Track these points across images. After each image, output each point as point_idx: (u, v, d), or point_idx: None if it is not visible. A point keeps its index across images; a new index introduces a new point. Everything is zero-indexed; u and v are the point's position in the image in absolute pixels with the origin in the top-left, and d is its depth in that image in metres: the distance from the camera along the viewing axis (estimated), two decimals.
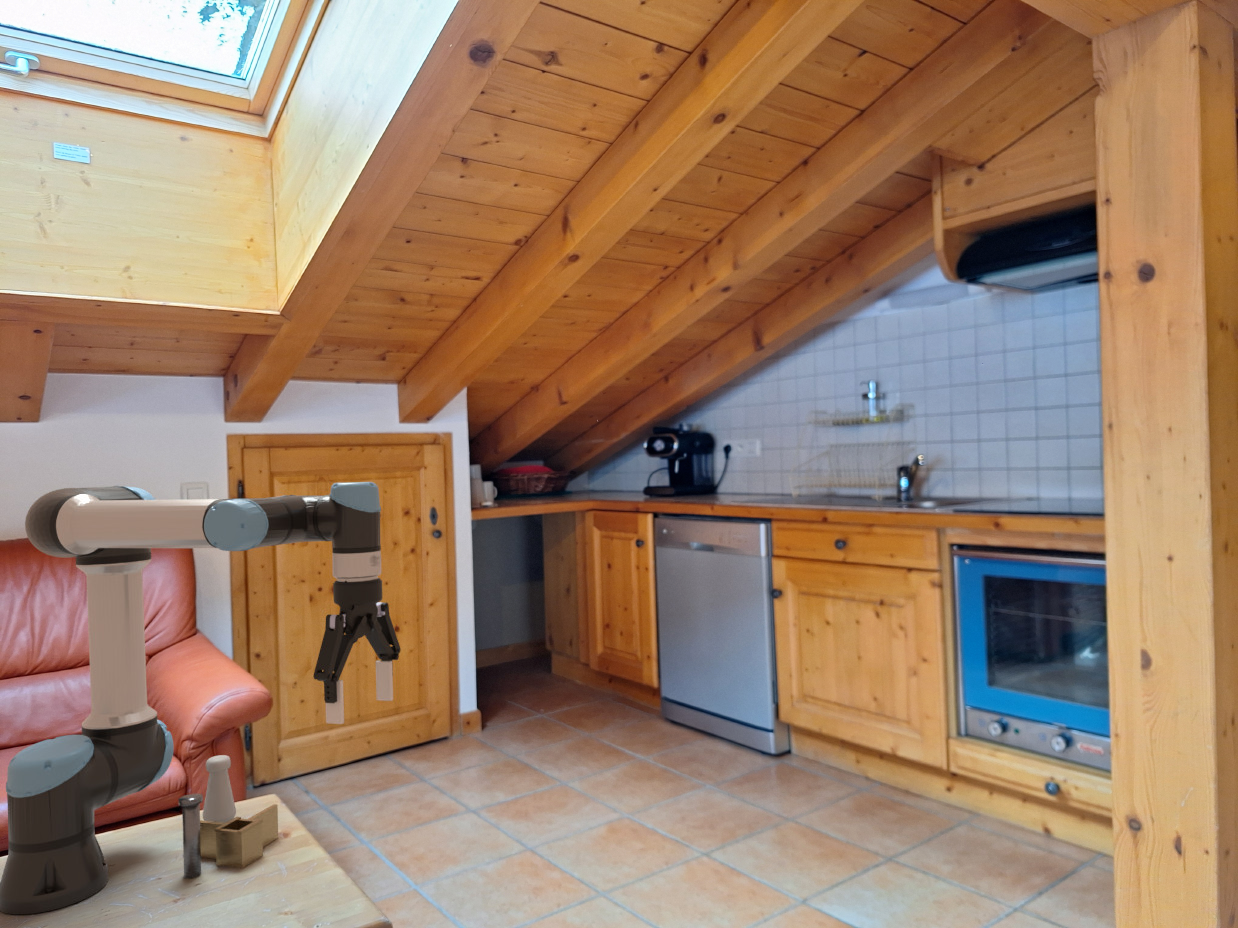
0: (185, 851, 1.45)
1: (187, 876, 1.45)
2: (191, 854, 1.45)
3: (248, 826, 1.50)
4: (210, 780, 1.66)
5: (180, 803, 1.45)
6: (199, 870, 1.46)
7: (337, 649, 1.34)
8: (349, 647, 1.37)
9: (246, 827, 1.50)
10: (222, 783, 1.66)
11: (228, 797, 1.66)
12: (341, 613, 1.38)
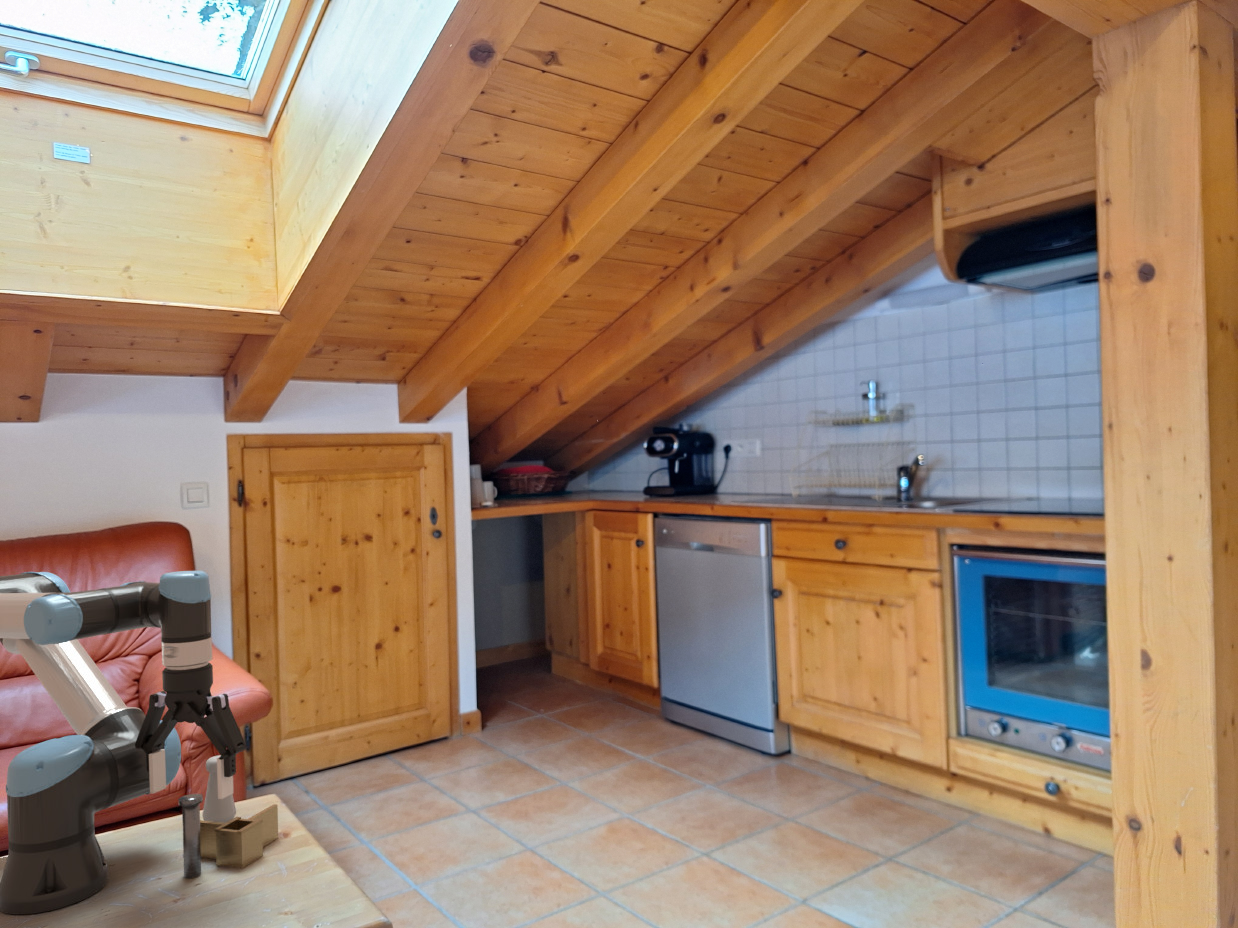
0: (185, 851, 1.45)
1: (187, 876, 1.45)
2: (191, 854, 1.45)
3: (248, 826, 1.50)
4: (210, 780, 1.66)
5: (180, 803, 1.45)
6: (199, 870, 1.46)
7: (147, 724, 1.47)
8: (162, 726, 1.46)
9: (246, 827, 1.50)
10: None
11: (228, 797, 1.66)
12: None
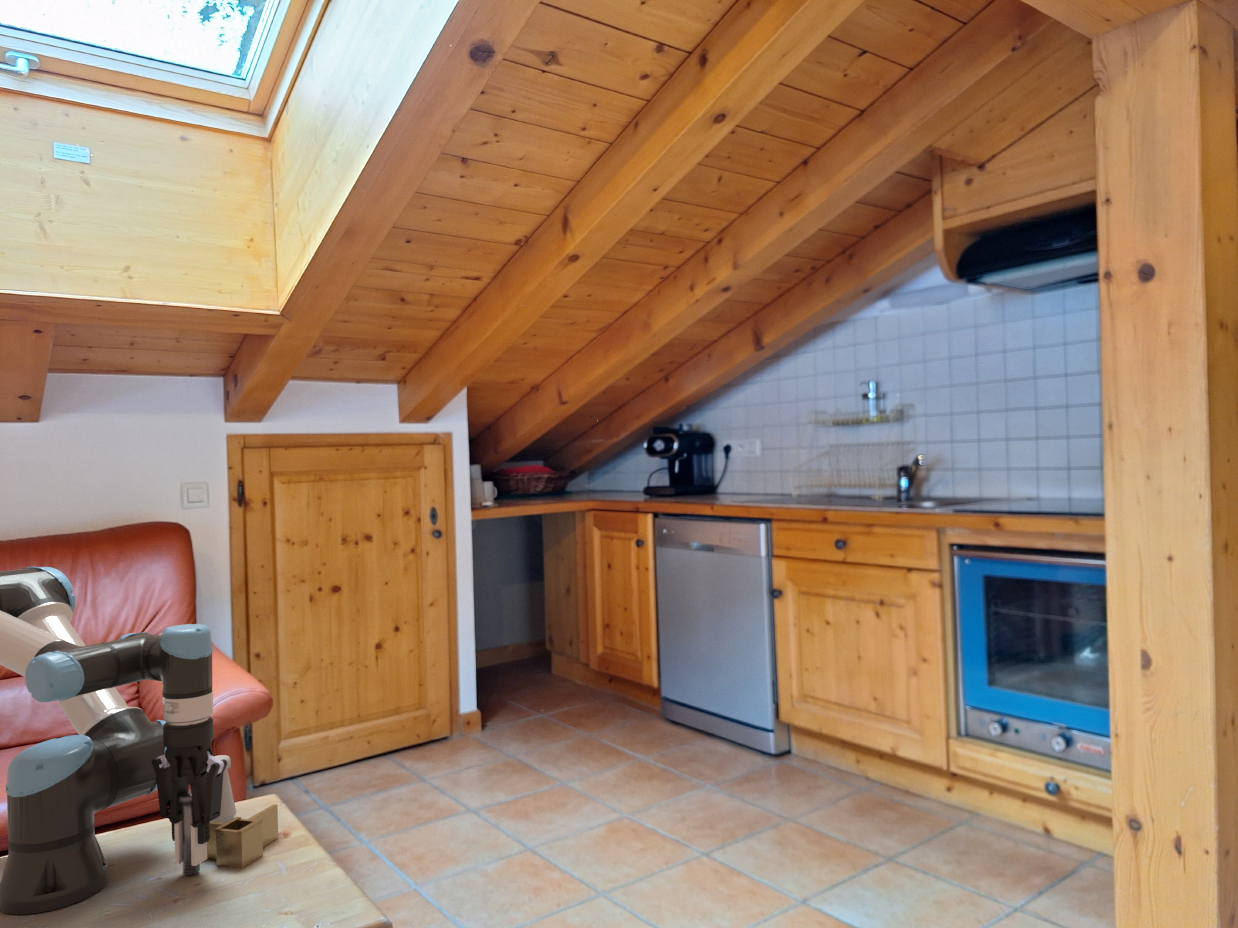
0: (184, 847, 1.45)
1: (186, 872, 1.45)
2: (190, 851, 1.45)
3: (248, 826, 1.50)
4: None
5: (179, 800, 1.45)
6: (198, 866, 1.46)
7: (161, 789, 1.47)
8: (175, 788, 1.46)
9: (246, 827, 1.50)
10: (223, 783, 1.66)
11: (228, 797, 1.66)
12: None
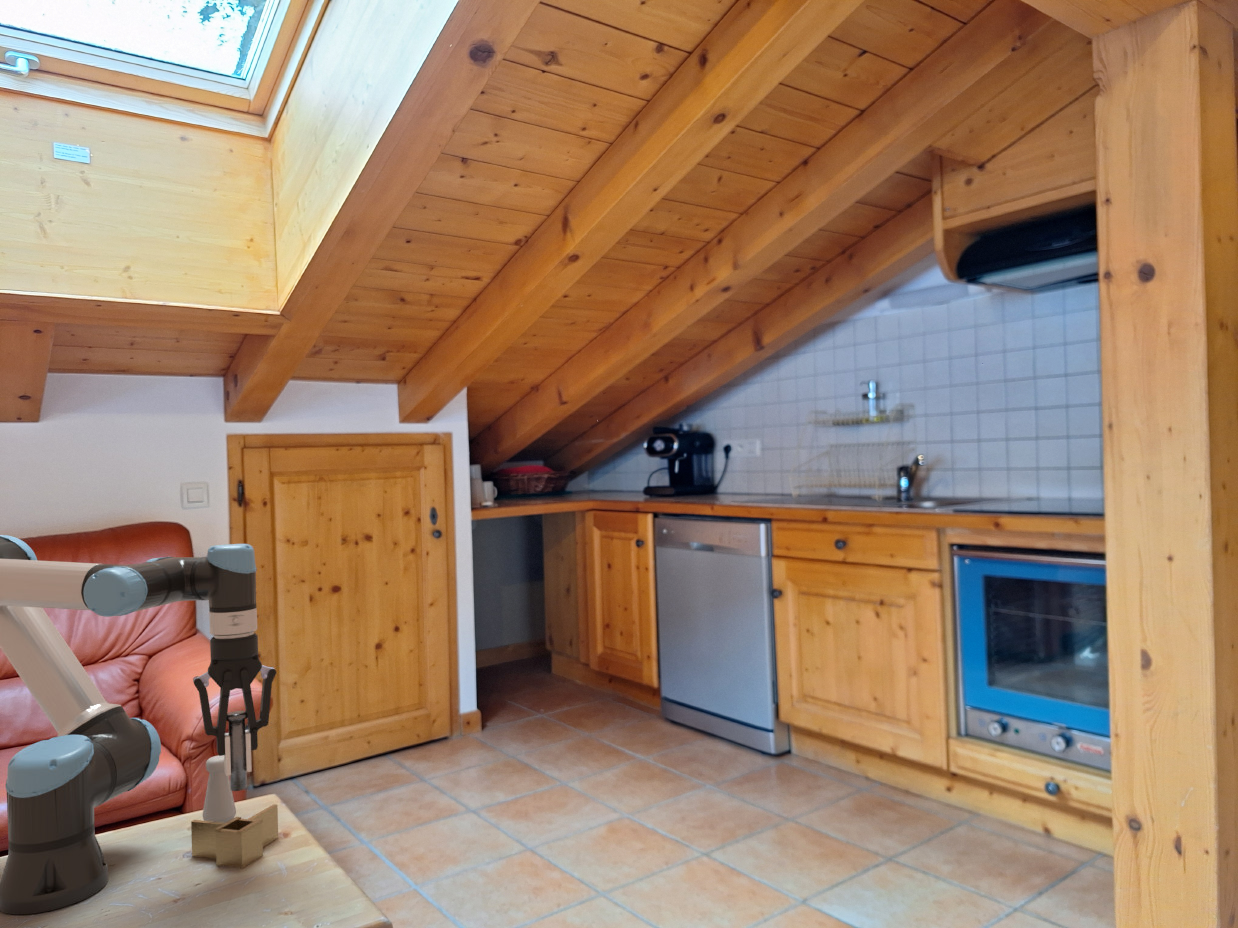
0: (237, 764, 1.50)
1: (240, 788, 1.50)
2: (243, 766, 1.51)
3: (248, 826, 1.50)
4: (210, 780, 1.66)
5: (234, 718, 1.50)
6: (246, 781, 1.52)
7: (207, 707, 1.48)
8: (225, 702, 1.50)
9: (246, 827, 1.50)
10: (222, 783, 1.66)
11: (228, 797, 1.66)
12: (208, 669, 1.50)
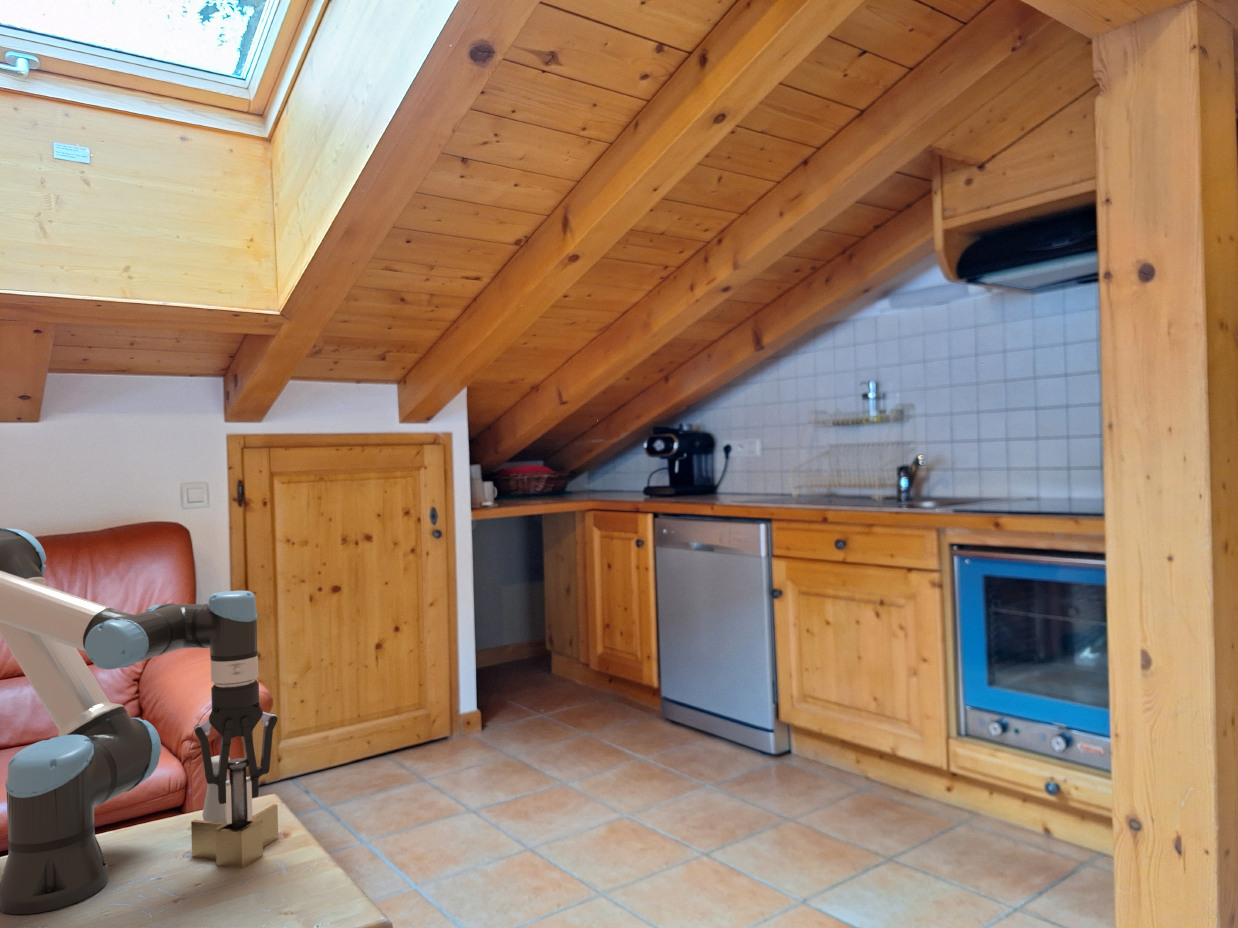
0: (238, 812, 1.50)
1: None
2: (244, 814, 1.51)
3: (248, 826, 1.50)
4: None
5: (235, 767, 1.50)
6: None
7: (208, 755, 1.48)
8: (226, 750, 1.50)
9: (246, 827, 1.50)
10: None
11: None
12: (209, 717, 1.50)
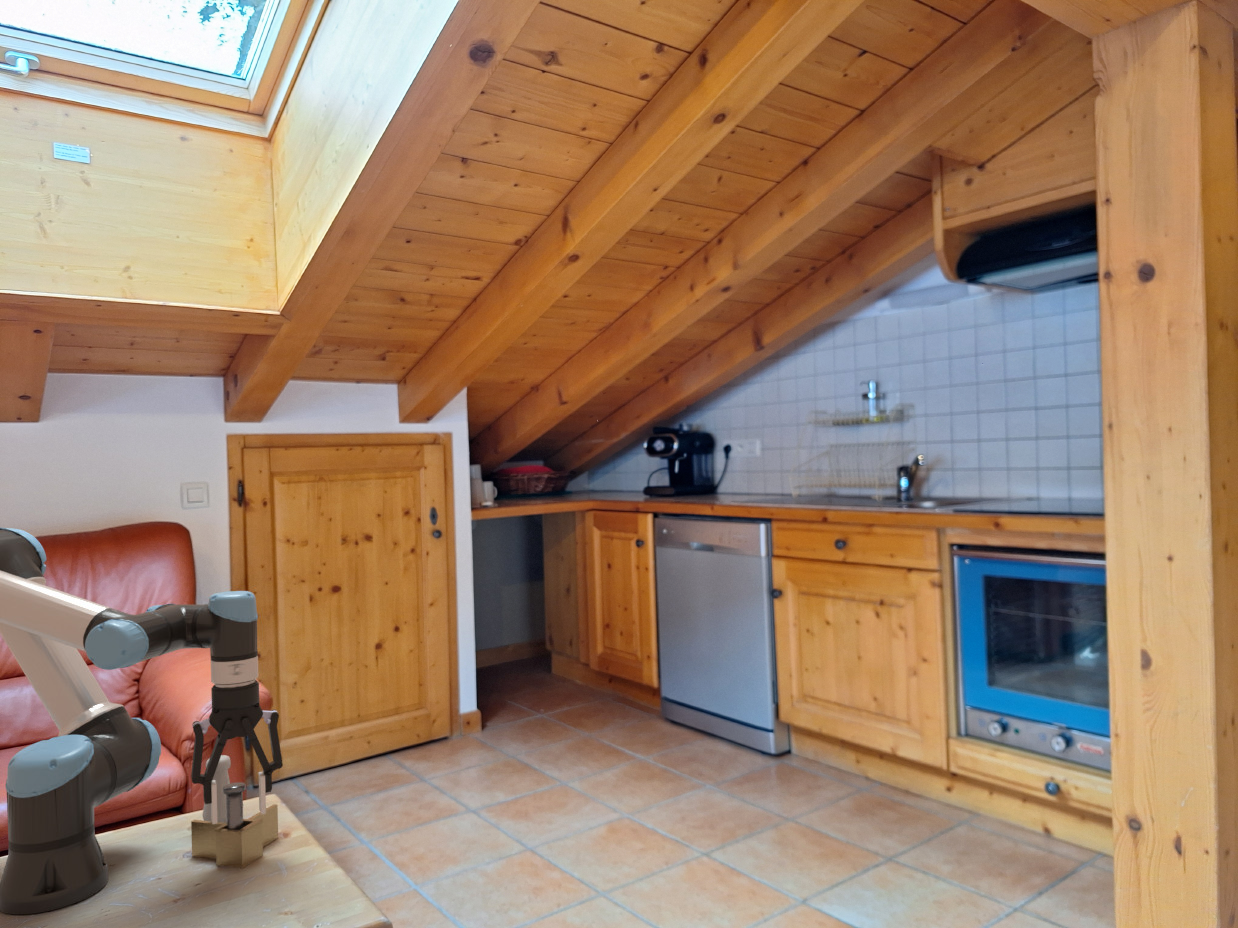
0: None
1: None
2: None
3: (248, 826, 1.50)
4: None
5: (232, 791, 1.50)
6: None
7: (200, 754, 1.48)
8: (219, 750, 1.49)
9: (246, 827, 1.50)
10: (222, 783, 1.66)
11: None
12: (210, 716, 1.50)
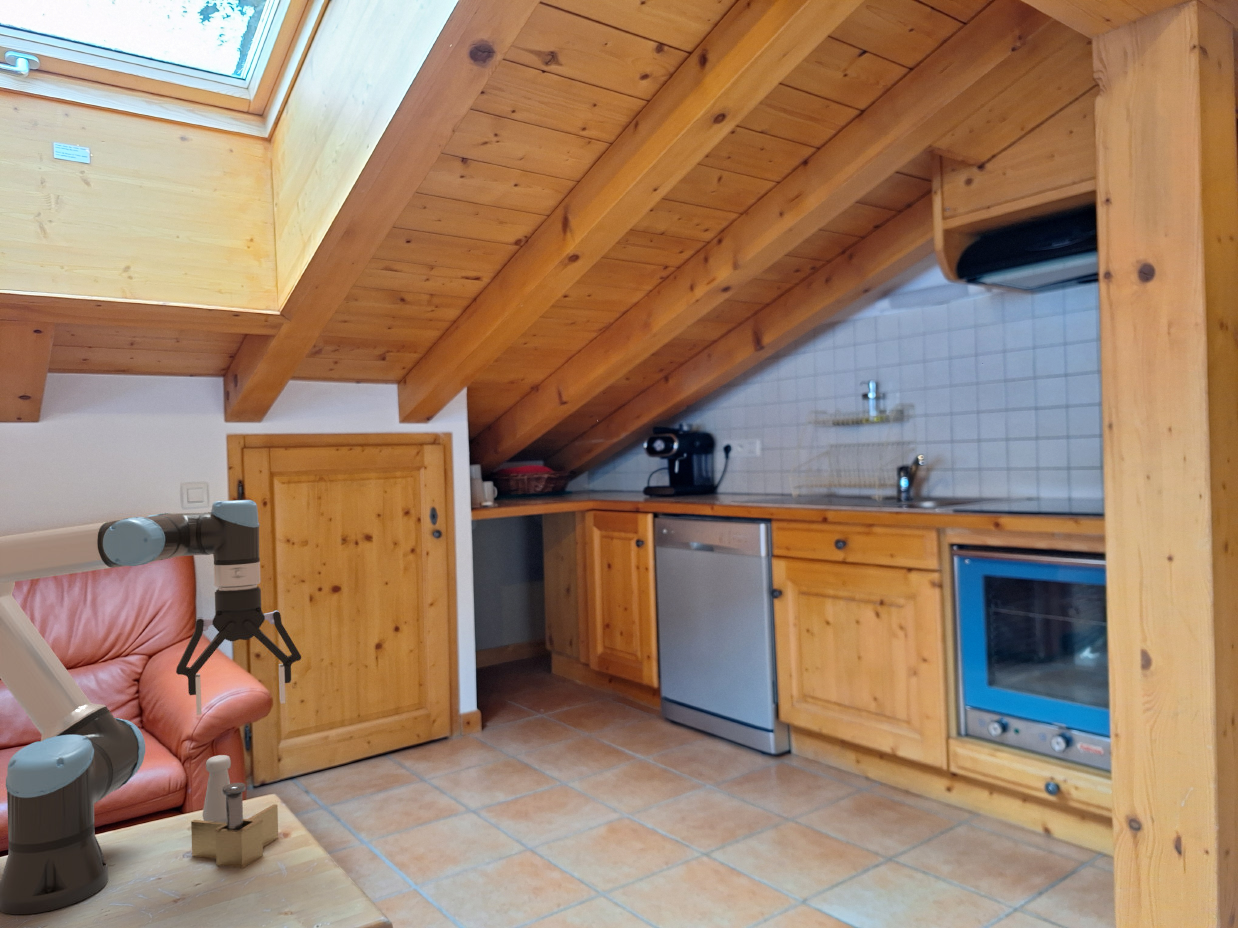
0: None
1: None
2: None
3: (248, 826, 1.50)
4: (210, 780, 1.66)
5: (231, 792, 1.49)
6: None
7: (192, 648, 1.52)
8: (212, 648, 1.53)
9: (246, 827, 1.50)
10: (222, 783, 1.66)
11: None
12: (215, 617, 1.55)
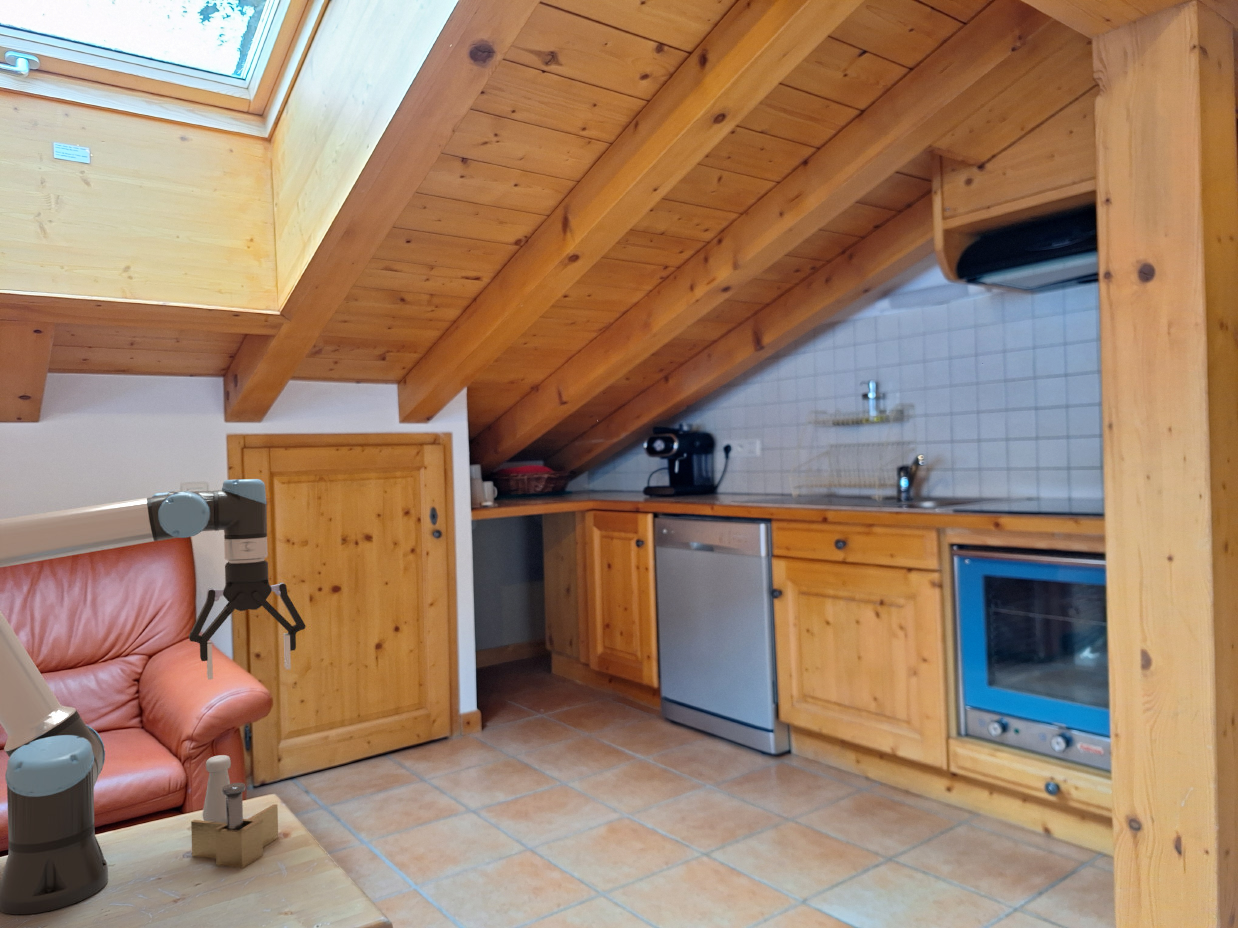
0: None
1: None
2: None
3: (248, 826, 1.50)
4: (210, 780, 1.66)
5: (231, 792, 1.49)
6: None
7: (205, 617, 1.62)
8: (223, 617, 1.64)
9: (246, 827, 1.50)
10: (222, 783, 1.66)
11: None
12: (225, 588, 1.66)
